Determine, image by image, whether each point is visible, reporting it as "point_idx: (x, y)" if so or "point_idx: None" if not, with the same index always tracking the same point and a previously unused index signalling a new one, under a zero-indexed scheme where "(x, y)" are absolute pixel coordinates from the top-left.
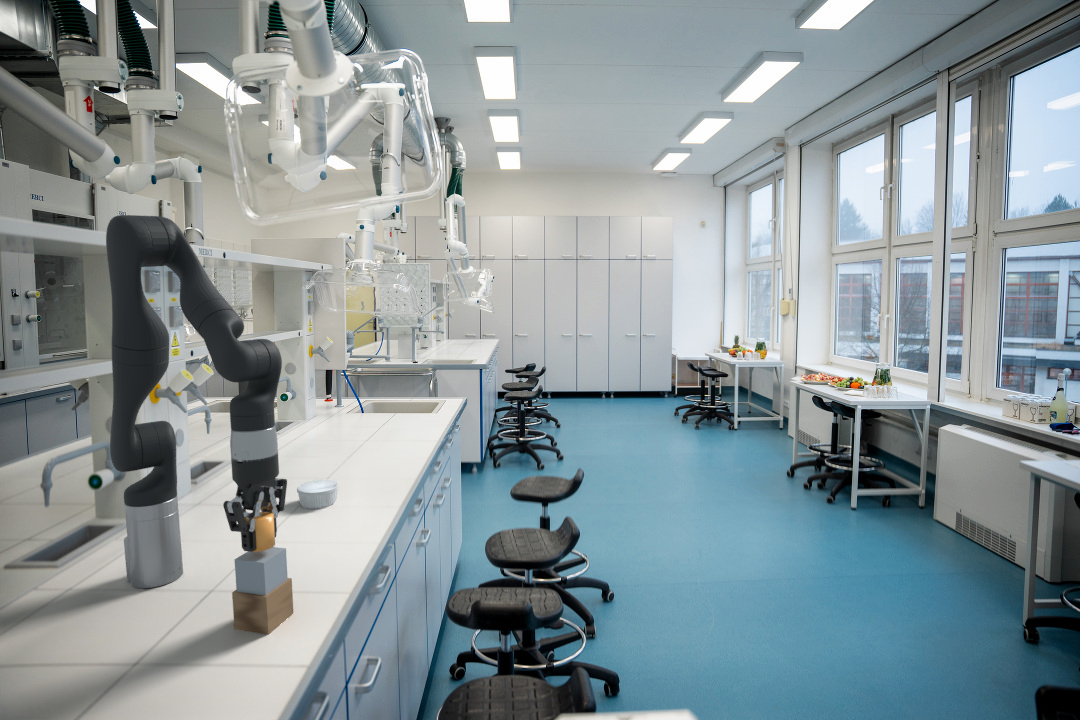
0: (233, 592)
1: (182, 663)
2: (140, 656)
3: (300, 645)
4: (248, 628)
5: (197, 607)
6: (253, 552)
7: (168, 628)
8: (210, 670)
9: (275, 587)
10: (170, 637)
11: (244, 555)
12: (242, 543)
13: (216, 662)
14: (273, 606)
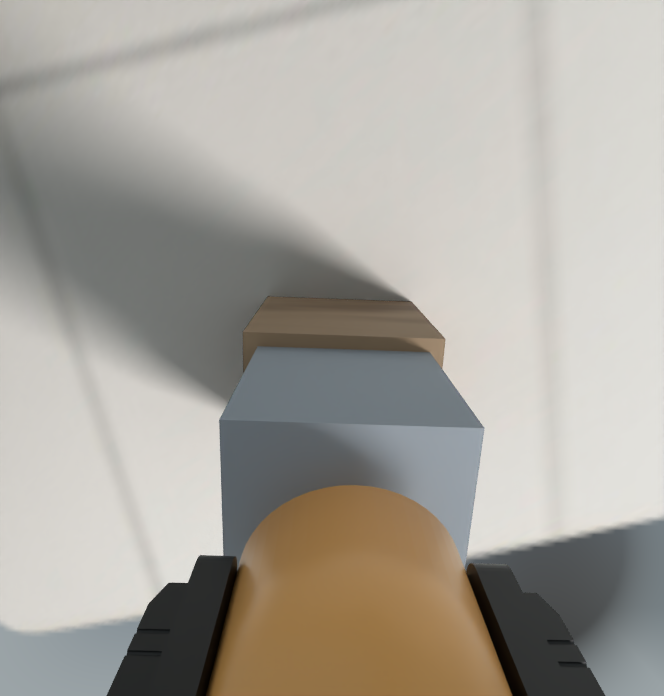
0: (244, 338)
1: (52, 263)
2: (26, 67)
3: None
4: None
5: (381, 7)
6: (355, 477)
7: (209, 13)
8: (57, 378)
9: None
10: (159, 82)
11: (295, 447)
12: (134, 643)
13: (94, 368)
14: None
